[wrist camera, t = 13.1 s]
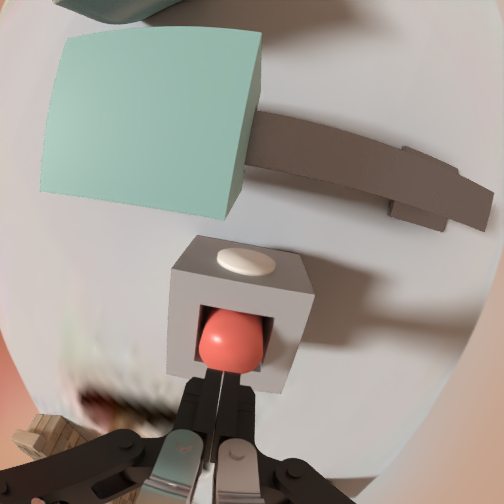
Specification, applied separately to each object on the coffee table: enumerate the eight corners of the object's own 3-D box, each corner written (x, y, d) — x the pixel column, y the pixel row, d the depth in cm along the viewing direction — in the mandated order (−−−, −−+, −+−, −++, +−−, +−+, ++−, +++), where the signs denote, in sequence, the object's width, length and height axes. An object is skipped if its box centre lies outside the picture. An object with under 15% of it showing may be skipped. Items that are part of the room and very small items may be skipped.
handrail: (438, 230, 18) (487, 256, 13) (93, 162, 17) (40, 169, 12) (453, 168, 17) (506, 177, 11) (104, 95, 16) (54, 80, 10)
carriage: (241, 190, 14) (224, 220, 7) (128, 173, 13) (40, 191, 7) (260, 91, 12) (261, 32, 5) (144, 81, 12) (67, 38, 5)
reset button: (257, 333, 18) (256, 379, 14) (208, 325, 18) (196, 369, 14) (267, 291, 17) (269, 332, 13) (214, 281, 17) (202, 320, 13)
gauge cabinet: (276, 338, 21) (281, 393, 16) (187, 322, 21) (166, 373, 15) (300, 250, 19) (316, 289, 13) (197, 230, 19) (171, 262, 13)
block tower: (168, 497, 37) (55, 406, 27) (161, 531, 29) (31, 449, 19) (137, 494, 38) (31, 406, 28) (129, 525, 30) (8, 442, 20)
